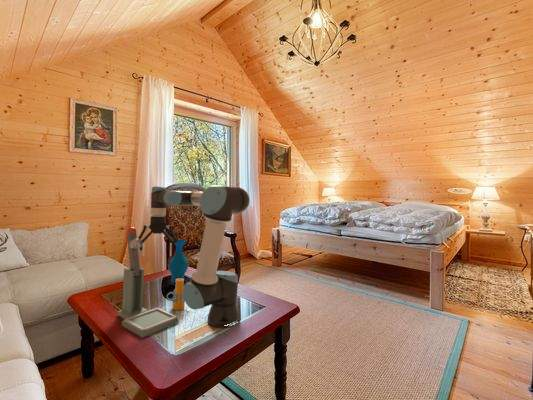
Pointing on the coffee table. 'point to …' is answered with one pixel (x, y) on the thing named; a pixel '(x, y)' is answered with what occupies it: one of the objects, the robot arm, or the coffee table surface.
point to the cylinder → (178, 295)
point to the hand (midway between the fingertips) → (156, 256)
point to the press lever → (134, 250)
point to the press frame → (141, 308)
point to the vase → (178, 263)
